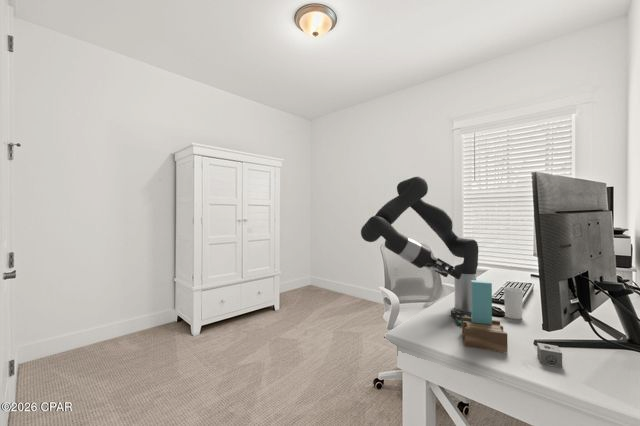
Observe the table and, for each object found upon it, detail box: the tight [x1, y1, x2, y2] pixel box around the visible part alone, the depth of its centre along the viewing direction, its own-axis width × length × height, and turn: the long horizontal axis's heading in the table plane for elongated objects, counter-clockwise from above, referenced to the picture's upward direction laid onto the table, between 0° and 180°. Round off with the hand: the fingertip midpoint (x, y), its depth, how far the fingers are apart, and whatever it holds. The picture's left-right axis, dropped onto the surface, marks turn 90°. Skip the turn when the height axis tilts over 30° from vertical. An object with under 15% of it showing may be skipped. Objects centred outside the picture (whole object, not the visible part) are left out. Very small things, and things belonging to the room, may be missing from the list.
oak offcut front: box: [467, 325, 504, 332], centre depth 95 cm, size 2×10×6 cm, turn 68°
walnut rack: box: [461, 316, 509, 354], centre depth 98 cm, size 12×12×7 cm
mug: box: [503, 286, 524, 320], centre depth 126 cm, size 10×7×12 cm, turn 170°
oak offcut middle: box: [467, 323, 501, 329], centre depth 97 cm, size 2×10×6 cm, turn 68°
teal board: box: [471, 279, 493, 324], centre depth 101 cm, size 3×6×20 cm, turn 68°
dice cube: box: [536, 342, 563, 369], centre depth 85 cm, size 5×5×5 cm
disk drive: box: [450, 310, 471, 328], centre depth 118 cm, size 10×3×15 cm
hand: (453, 275), depth 101 cm, fingers open, 8 cm apart
